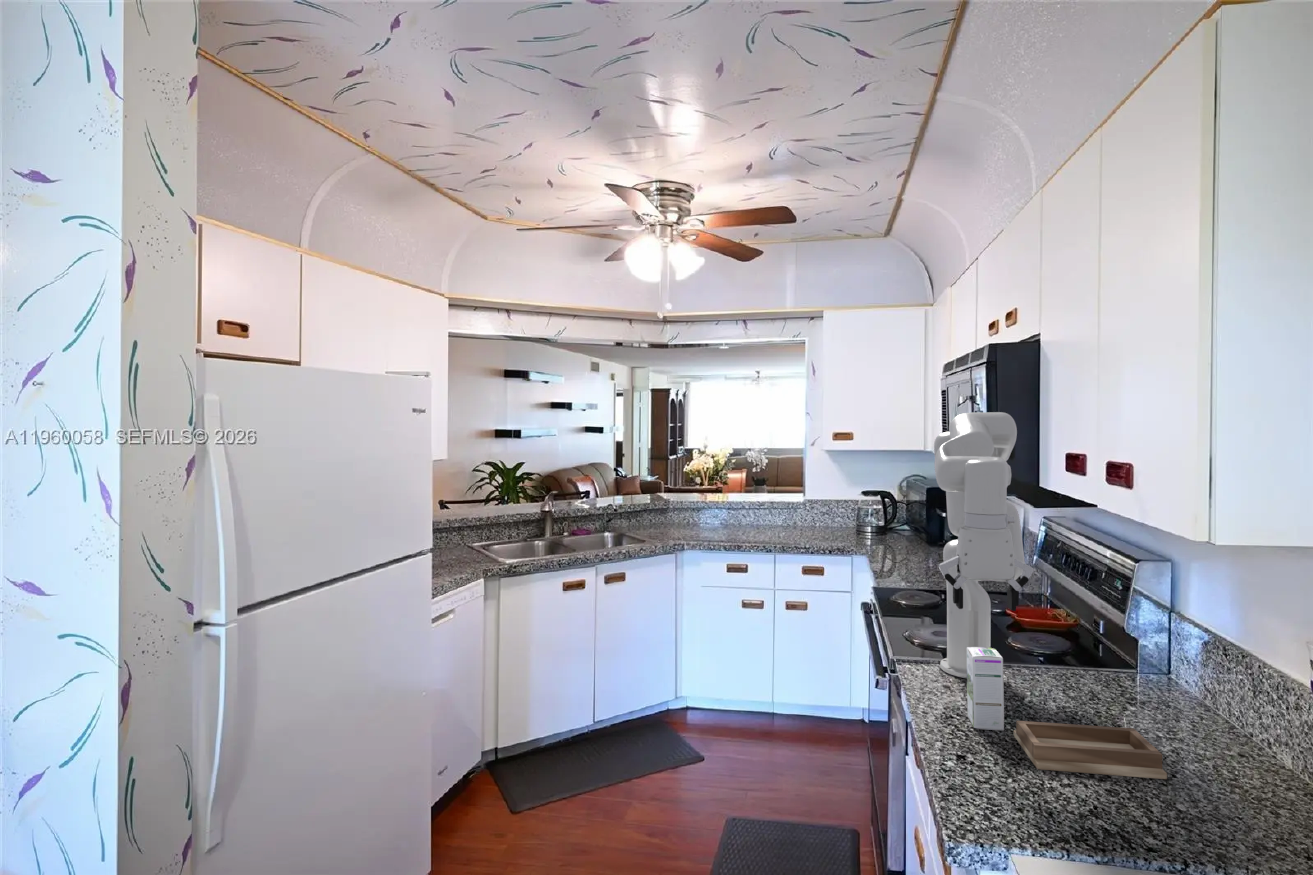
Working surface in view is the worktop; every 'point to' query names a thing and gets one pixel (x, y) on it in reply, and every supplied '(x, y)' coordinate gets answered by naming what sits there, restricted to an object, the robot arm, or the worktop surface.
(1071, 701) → the worktop surface
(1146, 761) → the brown wooden tray
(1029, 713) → the worktop surface
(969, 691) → the syrup box
